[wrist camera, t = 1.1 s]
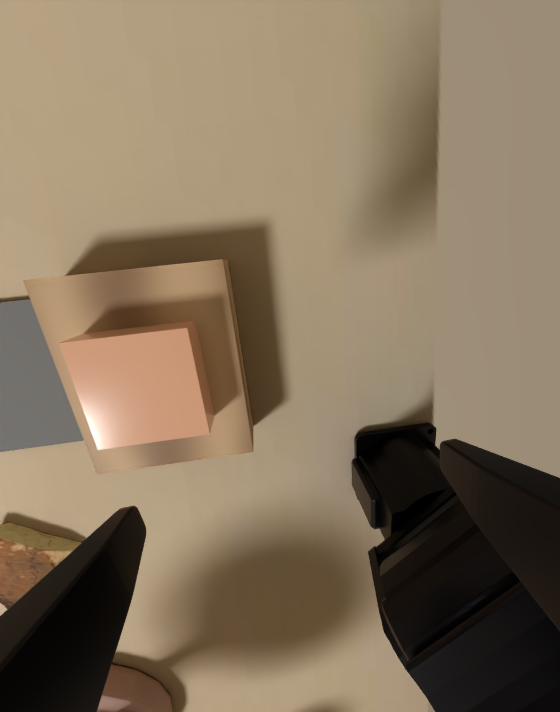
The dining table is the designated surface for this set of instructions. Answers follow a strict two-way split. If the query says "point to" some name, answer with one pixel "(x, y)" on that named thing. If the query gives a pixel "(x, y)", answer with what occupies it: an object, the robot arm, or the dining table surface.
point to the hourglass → (133, 692)
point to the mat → (30, 384)
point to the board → (146, 308)
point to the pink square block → (141, 383)
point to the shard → (27, 559)
